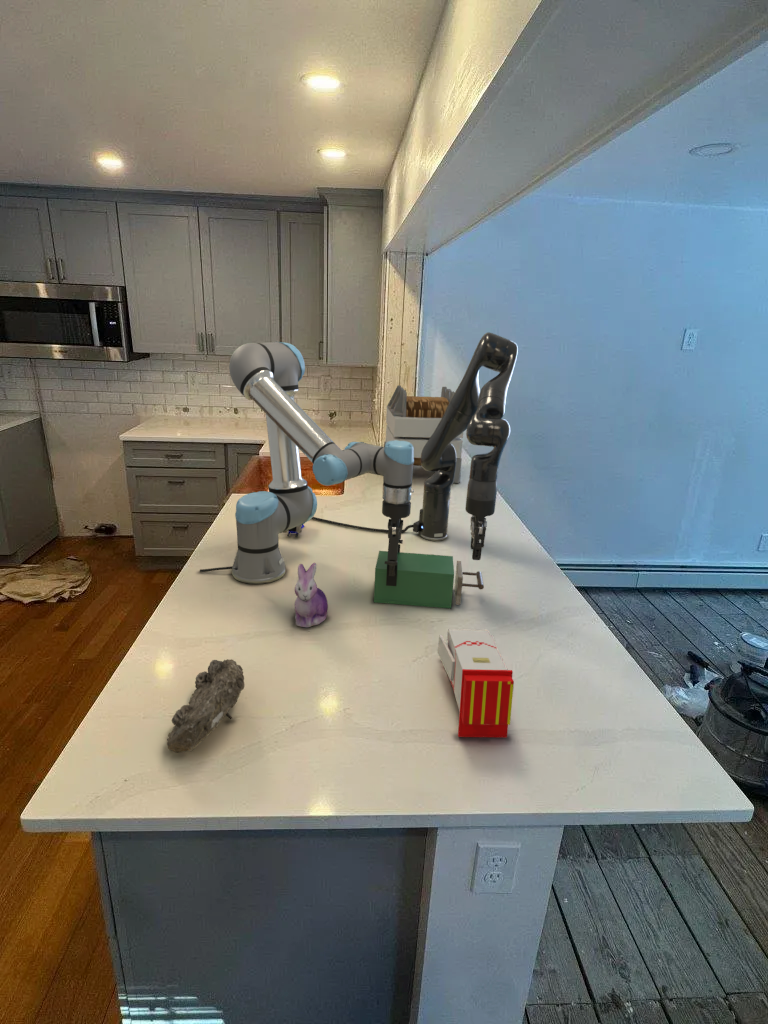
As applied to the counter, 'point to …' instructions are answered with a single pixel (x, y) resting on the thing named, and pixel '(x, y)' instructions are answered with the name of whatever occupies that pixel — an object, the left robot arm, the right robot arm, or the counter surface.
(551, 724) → the counter surface
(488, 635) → the toy
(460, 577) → the drawer
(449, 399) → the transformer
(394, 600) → the cabinet
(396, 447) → the left robot arm
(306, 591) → the figurine
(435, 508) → the right robot arm
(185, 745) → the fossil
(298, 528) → the figurine character
